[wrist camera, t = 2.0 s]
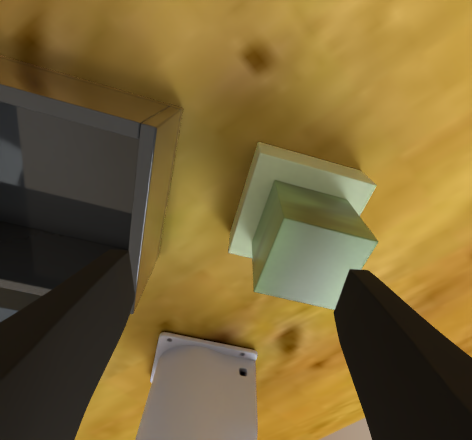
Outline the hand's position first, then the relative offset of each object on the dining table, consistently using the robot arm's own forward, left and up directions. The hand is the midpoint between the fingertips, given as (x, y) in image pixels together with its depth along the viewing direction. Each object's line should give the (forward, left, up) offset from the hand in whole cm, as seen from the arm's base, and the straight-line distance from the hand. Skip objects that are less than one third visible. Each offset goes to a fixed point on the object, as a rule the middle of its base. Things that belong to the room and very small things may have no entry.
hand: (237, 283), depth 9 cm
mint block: (-4, +1, -11) cm, 11 cm away
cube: (-4, +1, -8) cm, 9 cm away
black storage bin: (+11, +3, -10) cm, 15 cm away
